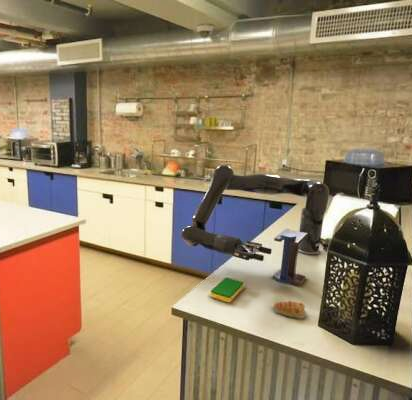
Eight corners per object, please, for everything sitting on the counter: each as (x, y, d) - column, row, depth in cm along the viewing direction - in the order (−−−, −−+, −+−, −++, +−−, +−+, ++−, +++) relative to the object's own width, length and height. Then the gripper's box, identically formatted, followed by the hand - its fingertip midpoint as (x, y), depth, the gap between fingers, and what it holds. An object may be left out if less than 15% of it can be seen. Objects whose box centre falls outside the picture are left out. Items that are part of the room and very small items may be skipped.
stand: (279, 271, 151) (284, 227, 147) (305, 278, 145) (311, 232, 141) (266, 284, 140) (271, 237, 135) (294, 293, 134) (300, 243, 129)
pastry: (274, 315, 119) (275, 304, 118) (272, 305, 125) (273, 295, 124) (305, 320, 117) (307, 309, 116) (302, 309, 123) (303, 299, 122)
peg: (277, 275, 142) (282, 231, 138) (293, 279, 139) (298, 234, 134) (273, 280, 138) (278, 234, 133) (288, 285, 134) (294, 238, 130)
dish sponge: (243, 288, 137) (244, 282, 137) (229, 303, 127) (229, 296, 126) (225, 282, 141) (226, 276, 141) (210, 296, 131) (210, 290, 130)
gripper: (220, 241, 144) (261, 251, 134) (235, 231, 155) (274, 240, 145) (218, 259, 146) (259, 270, 136) (233, 248, 156) (272, 258, 147)
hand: (267, 254), depth 140 cm, fingers open, 8 cm apart
